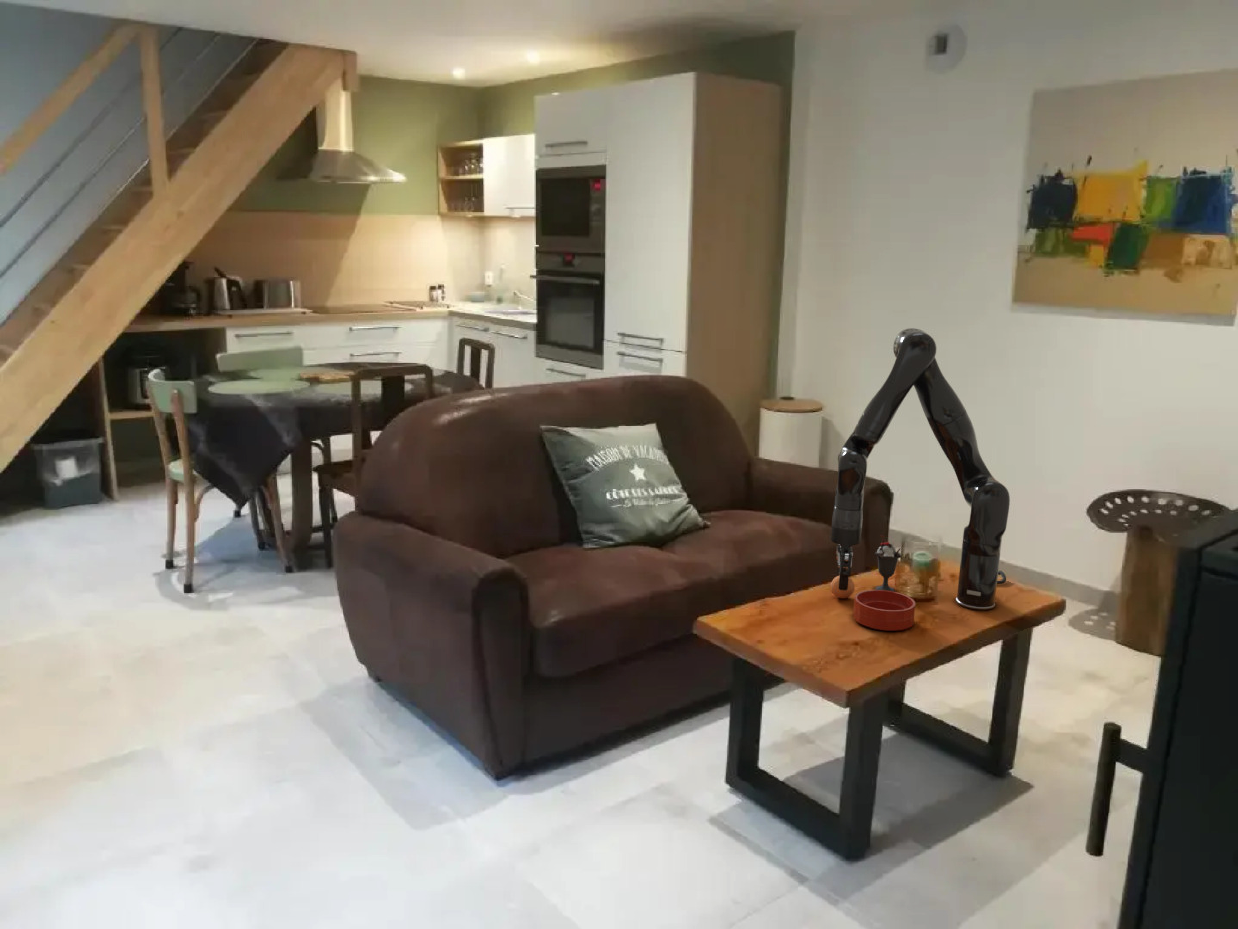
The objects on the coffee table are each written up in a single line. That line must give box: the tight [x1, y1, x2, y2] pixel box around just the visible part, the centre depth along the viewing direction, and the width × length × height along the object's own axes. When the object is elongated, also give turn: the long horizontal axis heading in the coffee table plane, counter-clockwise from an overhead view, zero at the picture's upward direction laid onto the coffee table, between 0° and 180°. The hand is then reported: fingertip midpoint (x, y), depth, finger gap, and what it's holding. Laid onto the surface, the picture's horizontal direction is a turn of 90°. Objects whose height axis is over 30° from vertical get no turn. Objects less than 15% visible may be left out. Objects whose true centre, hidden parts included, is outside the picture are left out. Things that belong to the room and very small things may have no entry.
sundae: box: [874, 534, 902, 592], centre depth 257 cm, size 7×7×15 cm
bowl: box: [852, 589, 916, 632], centre depth 236 cm, size 14×14×6 cm
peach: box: [830, 575, 855, 599], centre depth 252 cm, size 6×6×7 cm
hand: (841, 584), depth 251 cm, fingers open, 8 cm apart
